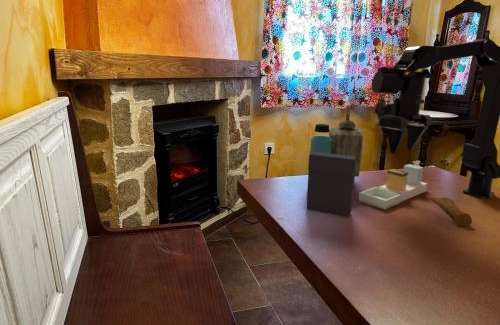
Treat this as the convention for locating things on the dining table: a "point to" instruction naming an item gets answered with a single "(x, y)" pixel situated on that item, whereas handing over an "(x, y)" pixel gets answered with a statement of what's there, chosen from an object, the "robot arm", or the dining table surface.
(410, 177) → the block
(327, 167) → the upright charcoal panel
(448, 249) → the dining table surface
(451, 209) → the primitive tool
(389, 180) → the block
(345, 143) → the grey brown pump bottle
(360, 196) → the parts tray
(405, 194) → the white flat block
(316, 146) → the beverage bottle
